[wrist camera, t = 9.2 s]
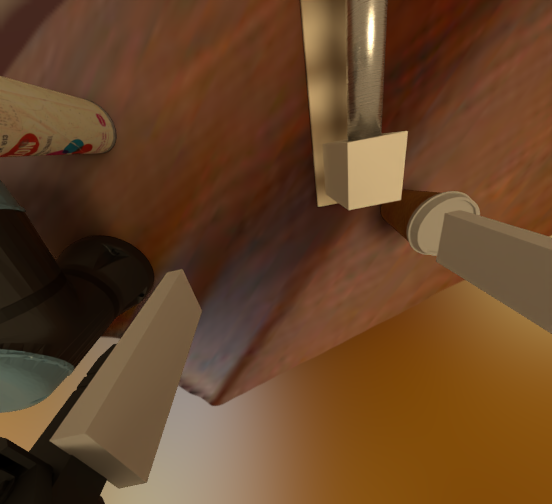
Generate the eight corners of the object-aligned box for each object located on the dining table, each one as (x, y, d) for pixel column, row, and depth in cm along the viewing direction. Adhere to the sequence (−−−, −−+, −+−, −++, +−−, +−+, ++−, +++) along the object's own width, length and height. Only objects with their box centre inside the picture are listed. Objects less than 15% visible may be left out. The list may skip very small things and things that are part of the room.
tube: (371, 143, 29) (388, 143, 26) (342, 149, 30) (354, 149, 26) (380, -156, 19) (412, -233, 15) (334, -147, 19) (353, -221, 15)
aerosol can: (82, 158, 32) (-135, 171, 14) (52, 105, 29) (-275, 38, 11) (125, 147, 32) (-41, 148, 14) (99, 93, 29) (-157, 6, 11)
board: (371, 195, 38) (372, 196, 38) (317, 206, 38) (318, 206, 38) (383, -163, 22) (386, -171, 21) (287, -143, 22) (288, -151, 21)
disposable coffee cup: (361, 211, 40) (400, 235, 29) (402, 168, 37) (462, 177, 26) (391, 238, 43) (437, 269, 32) (431, 201, 40) (495, 221, 29)
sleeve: (363, 186, 37) (401, 200, 28) (324, 193, 37) (348, 210, 28) (364, 135, 34) (407, 130, 24) (321, 144, 34) (347, 142, 24)
